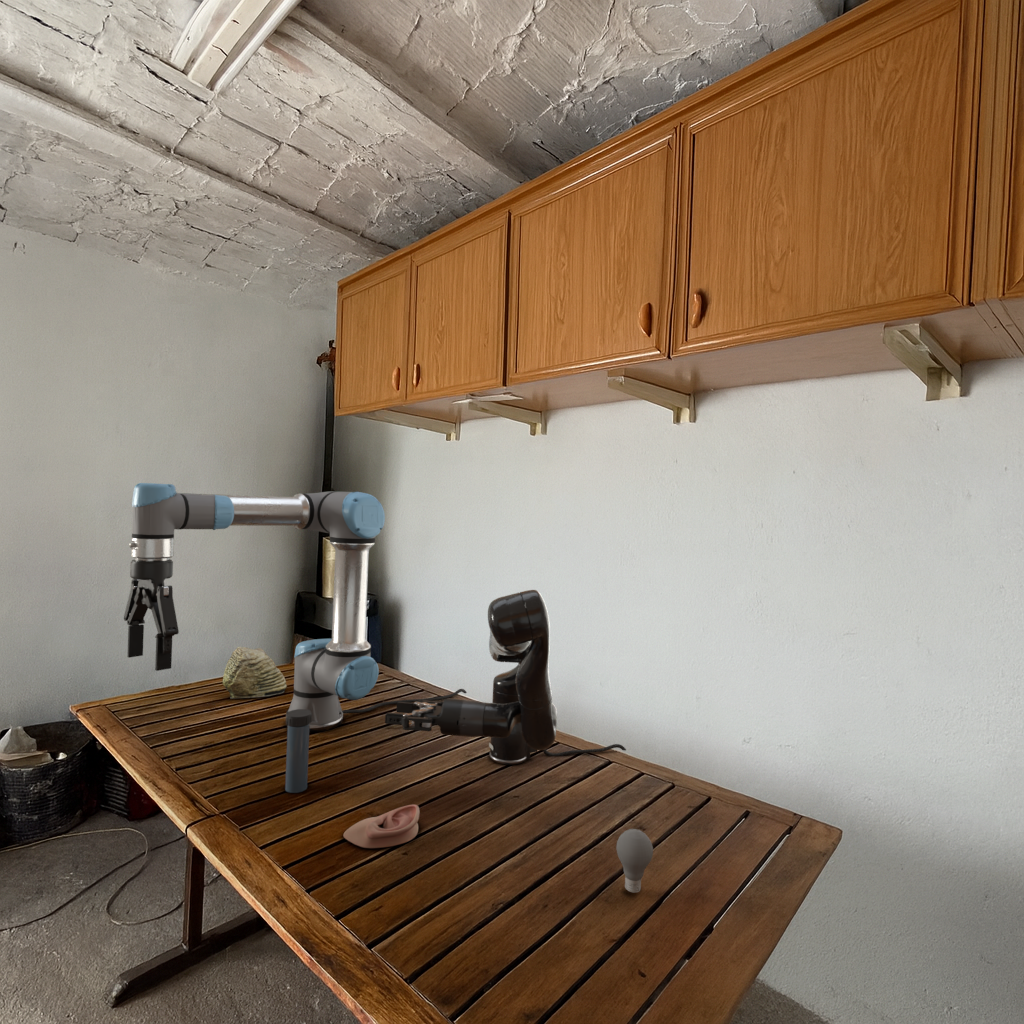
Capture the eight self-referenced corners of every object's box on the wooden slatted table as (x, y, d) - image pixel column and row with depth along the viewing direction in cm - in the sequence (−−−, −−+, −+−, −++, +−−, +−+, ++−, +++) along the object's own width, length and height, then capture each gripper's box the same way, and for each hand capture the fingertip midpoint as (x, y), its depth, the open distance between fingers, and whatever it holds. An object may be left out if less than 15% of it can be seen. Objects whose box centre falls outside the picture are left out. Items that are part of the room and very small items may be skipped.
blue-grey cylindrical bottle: (304, 792, 135) (307, 718, 135) (282, 793, 135) (285, 718, 134) (309, 783, 140) (311, 711, 139) (287, 783, 139) (290, 711, 139)
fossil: (218, 695, 195) (220, 647, 195) (278, 685, 208) (279, 640, 207) (228, 703, 189) (230, 653, 188) (289, 692, 201) (290, 645, 201)
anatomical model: (336, 822, 116) (363, 794, 127) (335, 843, 116) (362, 813, 127) (404, 832, 113) (426, 803, 124) (403, 854, 113) (425, 823, 124)
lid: (308, 727, 135) (308, 717, 135) (283, 727, 134) (283, 717, 134) (313, 718, 140) (313, 709, 140) (289, 718, 139) (289, 709, 139)
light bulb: (610, 879, 108) (613, 822, 108) (644, 879, 109) (647, 822, 109) (619, 902, 102) (622, 840, 102) (655, 901, 103) (658, 840, 103)
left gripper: (108, 554, 134) (104, 654, 134) (159, 565, 118) (155, 678, 119) (146, 552, 140) (143, 648, 140) (199, 563, 124) (195, 671, 124)
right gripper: (470, 692, 144) (401, 687, 146) (459, 709, 130) (382, 703, 132) (468, 725, 144) (399, 719, 146) (457, 746, 130) (380, 740, 132)
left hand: (148, 662), depth 129 cm, fingers open, 13 cm apart
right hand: (391, 712), depth 139 cm, fingers open, 8 cm apart
